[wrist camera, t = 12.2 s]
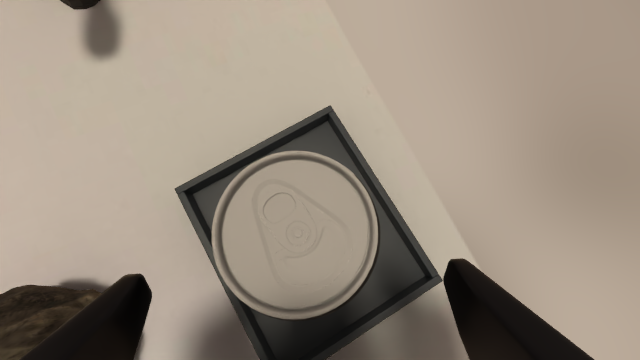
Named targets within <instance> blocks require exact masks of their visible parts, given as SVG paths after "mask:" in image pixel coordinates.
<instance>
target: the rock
mask: <svg viewBox="0 0 640 360" xmlns="http://www.w3.org/2000/svg"><path fill="white" fill-rule="evenodd" d="M101 294H102V293H100V292H98V291H97V290H95V289H88V290H81V291H80V290H74V289H68V288H61V287H55V286H36V285H25V286H21V287H16V288H13V289H11V290H9V291H7V292H5V293H3V294H0V360H19V359H20V358H22V357H23V356H24V355H25V354H27V353H28V352H29V351H30V350H32V349H33V348H34V347H36V346H37V345H38V344H39V343H41V342H42V341H43V340H44V339H46V338H47V337H48V336H49V335H51V334H52V333H53V332H54V331H56V330H57V329H58V328H59V327H61V326H62V325H63V324H64V323H66V322H67V321H68V320H69V319H71V318H72V317H73V316H74V315H76V314H77V313H78V312H79V311H81V310H82V309H83V308H84V307H86V306H87V305H88V304H89V303H91V302H92V301H93V300H94V299H96V298H97V297H98V296H99V295H101Z"/></svg>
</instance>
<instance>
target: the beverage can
mask: <svg viewBox="0 0 640 360" xmlns="http://www.w3.org/2000/svg"><path fill="white" fill-rule="evenodd" d="M212 248H213V255H214V258H215V262H216V265H217V267H218V270H219V272H220V274H221V276H222V278H223V280H224V281H225V283H226V285H227V286H228V287H229V288H230V290H231V291H232V292H233V293H234V294H235V295H236V296H237V297H238V298H239V299H240V300H241V301H242V302H244V303H245V304H246V305H248V306H249V307H251V308H252V309H254V310H255V311H257V312H259V313H261V314H264V315H266V316H269V317H272V318H275V319H279V320H285V321H306V320H313V319H317V318H320V317H323V316H326V315H328V314H331V313H333V312H335V311H337V310H339V309H340V308H342V307H343V306H344V305H346V304H347V303H349V302H350V301H351V300H352V299H353V298H354V297H355V296H356V295H357V294H358V293H359V292H360V291H361V289H362V288H363V287H364V285H365V284H366V282H367V281H368V279H369V277H370V276H371V274H372V272H373V269H374V267H375V264H376V261H377V258H378V254H379V248H380V223H379V217H378V213H377V210H376V207H375V204H374V202H373V199H372V197H371V195H370V193H369V192H368V190H367V189H366V187H365V186H364V184H363V183H362V182H361V181H360V179H359V178H358V177H357V176H356V175H355V174H354V173H352V172H351V171H350V170H349V169H347V168H346V167H345V166H343V165H342V164H340V163H338V162H337V161H335V160H333V159H331V158H329V157H326V156H323V155H320V154H317V153H313V152H308V151H284V152H280V153H275V154H272V155H269V156H266V157H264V158H261V159H259V160H257V161H255V162H254V163H252V164H250V165H249V166H247V167H246V168H245V169H244V170H243V171H241V172H240V173H239V174H238V175H237V176H236V177H235V178H234V179H233V180H232V181H231V183H230V184H229V185H228V187H227V188H226V190H225V191H224V193H223V195H222V196H221V198H220V200H219V203H218V206H217V208H216V211H215V215H214V218H213V225H212Z"/></svg>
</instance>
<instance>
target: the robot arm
mask: <svg viewBox="0 0 640 360" xmlns="http://www.w3.org/2000/svg"><path fill="white" fill-rule="evenodd" d="M444 286H445V289H446V292H447V295H448V299H449V302H450V305H451V309H452V312H453V315H454V318H455V322H456V325H457V328H458V331H459V334H460V337H461V340H462V342H463V345H464V347H465V349H466V352H467V354H468V357H469V359H470V360H594V359H593V358H592V357H590V356H589V355H587V354H586V353H585V352H584V351H583V350H581V349H580V348H579V347H577V346H576V345H575V344H574V343H572V342H571V341H570V340H568V339H567V338H566V337H565V336H563V335H562V334H561V333H559V332H558V331H557V330H556V329H554V328H553V327H552V326H550V325H549V324H548V323H547V322H545V321H544V320H543V319H541V318H540V317H539V316H538V315H536V314H535V313H534V312H532V311H531V310H530V309H529V308H527V307H526V306H525V305H524V304H522V303H521V302H520V301H518V300H517V299H516V298H515V297H513V296H512V295H511V294H509V293H508V292H507V291H505V290H504V289H503V288H502V287H500V286H499V285H498V284H497V283H495V282H494V281H493V280H492V279H490V278H489V277H488V276H486V275H485V274H484V273H483V272H481V271H480V270H479V269H477V268H476V267H475V266H474V265H472V264H471V263H470V262H468V261H467V260H465V259H451V260H450V261H449V263H448V266H447V269H446V272H445V275H444ZM151 299H152V292H151V289H150V288H149V286H148V284H147V282H146V280H145V278H144V276H143V275H141V274H128V275H125V276H123V277H122V278H121V279H119V280H118V281H117V282H116V283H114V284H113V285H112V286H111V287H109V288H108V289H107V290H106V291H104V292H103V293H102V294H101V295H99V296H98V297H97V298H96V299H94V300H93V301H92V302H91V303H89V304H88V305H87V306H86V307H84V308H83V309H82V310H81V311H79V312H78V313H77V314H76V315H74V316H73V317H72V318H71V319H69V320H68V321H67V322H66V323H64V324H63V325H62V326H61V327H59V328H58V329H57V330H56V331H54V332H53V333H52V334H51V335H49V336H48V337H47V338H46V339H44V340H43V341H42V342H41V343H39V344H38V345H37V346H36V347H34V348H33V349H32V350H30V351H29V352H28V353H27V354H25V355H24V356H23V357H22V358H20V359H19V360H133V359H134V356H135V354H136V351H137V348H138V344H139V341H140V337H141V334H142V330H143V327H144V324H145V320H146V317H147V313H148V310H149V306H150V303H151Z"/></svg>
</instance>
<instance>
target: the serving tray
mask: <svg viewBox="0 0 640 360" xmlns="http://www.w3.org/2000/svg"><path fill="white" fill-rule="evenodd" d="M284 151H308V152H313V153H317V154H320V155H323V156H326V157H329V158H331V159H333V160H335V161H337V162H338V163H340V164H342V165H343V166H345V167H346V168H347V169H349V170H350V171H351V172H352V173H354V174H355V175H356V176H357V177H358V178H359V179H360V181H361V182H362V183H363V184H364V186H365V187H366V189H367V190H368V192H369V193H370V195H371V197H372V199H373V202H374V204H375V207H376V210H377V213H378V217H379V223H380V248H379V254H378V258H377V261H376V264H375V267H374V269H373V272H372V274H371V276H370V277H369V279H368V281H367V282H366V284H365V285H364V287H363V288H362V289H361V291H360V292H359V293H358V294H357V295H356V296H355V297H354V298H353V299H352V300H351V301H350V302H349V303H347V304H346V305H344V306H343V307H342V308H340V309H339V310H337V311H335V312H333V313H331V314H328V315H326V316H323V317H320V318H317V319H313V320H306V321H285V320H279V319H275V318H272V317H269V316H266V315H264V314H261V313H259V312H257V311H255V310H254V309H252V308H251V307H249V306H248V305H246V304H245V303H244V302H242V301H241V300H240V299H239V298H238V297H237V296H236V295H235V294H234V293H233V292H232V291H231V290H230V288H229V287H228V286H227V285H226V283H225V281H224V280H223V278H222V276H221V274H220V272H219V270H218V267H217V265H216V262H215V258H214V255H213V248H212V225H213V218H214V215H215V211H216V208H217V206H218V203H219V200H220V198H221V196H222V195H223V193H224V191H225V190H226V188H227V187H228V185H229V184H230V183H231V181H232V180H233V179H234V178H235V177H236V176H237V175H238V174H239V173H240V172H241V171H243V170H244V169H245V168H246V167H247V166H249V165H250V164H252V163H254V162H255V161H257V160H259V159H261V158H264V157H266V156H269V155H272V154H275V153H280V152H284ZM175 191H176V193H177V194H178V197H179V199H180V201H181V203H182V205H183V207H184V209H185V211H186V213H187V215H188V217H189V219H190V221H191V223H192V225H193V227H194V229H195V231H196V233H197V235H198V237H199V239H200V241H201V243H202V245H203V247H204V249H205V251H206V253H207V255H208V257H209V259H210V261H211V263H212V265H213V267H214V269H215V271H216V273H217V275H218V277H219V279H220V281H221V283H222V285H223V287H224V289H225V291H226V293H227V295H228V297H229V299H230V301H231V303H232V305H233V307H234V309H235V311H236V313H237V315H238V317H239V319H240V321H241V323H242V325H243V327H244V329H245V331H246V333H247V335H248V337H249V339H250V341H251V343H252V345H253V347H254V349H255V351H256V353H257V355H258V357H259V359H260V360H325V359H326V358H328V357H329V356H331V355H332V354H334V353H335V352H337V351H338V350H340V349H341V348H343V347H344V346H346V345H347V344H349V343H350V342H352V341H353V340H355V339H356V338H358V337H359V336H361V335H362V334H364V333H365V332H367V331H368V330H370V329H371V328H373V327H374V326H376V325H377V324H379V323H380V322H382V321H383V320H385V319H386V318H388V317H389V316H391V315H392V314H394V313H395V312H397V311H398V310H400V309H401V308H403V307H404V306H406V305H407V304H409V303H410V302H412V301H413V300H415V299H416V298H418V297H419V296H421V295H422V294H424V293H425V292H427V291H428V290H430V289H431V288H433V287H434V286H436V285H437V284H439V283H440V282H442V279H441V277H440V276H439V275H438V272H437V271H436V269H435V268H434V266H433V265H432V263H431V261H430V260H429V258H428V257H427V255H426V254H425V252H424V251H423V249H422V247H421V246H420V244H419V243H418V241H417V240H416V238H415V236H414V235H413V233H412V232H411V230H410V229H409V227H408V226H407V224H406V222H405V221H404V219H403V218H402V216H401V215H400V213H399V212H398V210H397V208H396V207H395V205H394V204H393V202H392V201H391V199H390V197H389V196H388V194H387V193H386V191H385V190H384V188H383V187H382V185H381V183H380V182H379V180H378V179H377V177H376V176H375V174H374V173H373V171H372V169H371V168H370V166H369V165H368V163H367V162H366V160H365V158H364V157H363V155H362V154H361V152H360V151H359V149H358V148H357V146H356V144H355V143H354V141H353V140H352V138H351V137H350V135H349V134H348V132H347V130H346V129H345V127H344V126H343V124H342V123H341V121H340V119H339V118H338V116H337V115H336V113H335V112H334V111H333V109H332V107H331V106H328V107H326V108H324V109H323V110H321V111H319V112H317V113H315V114H313V115H311V116H309V117H308V118H306V119H304V120H302V121H300V122H298V123H296V124H295V125H293V126H291V127H289V128H287V129H285V130H283V131H281V132H280V133H278V134H276V135H274V136H272V137H270V138H268V139H267V140H265V141H263V142H261V143H259V144H257V145H255V146H253V147H252V148H250V149H248V150H246V151H244V152H242V153H240V154H239V155H237V156H235V157H233V158H231V159H229V160H227V161H225V162H224V163H222V164H220V165H218V166H216V167H214V168H212V169H211V170H209V171H207V172H205V173H203V174H201V175H199V176H197V177H196V178H194V179H192V180H190V181H188V182H186V183H184V184H183V185H181V186H179V187H177V188H175Z"/></svg>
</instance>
